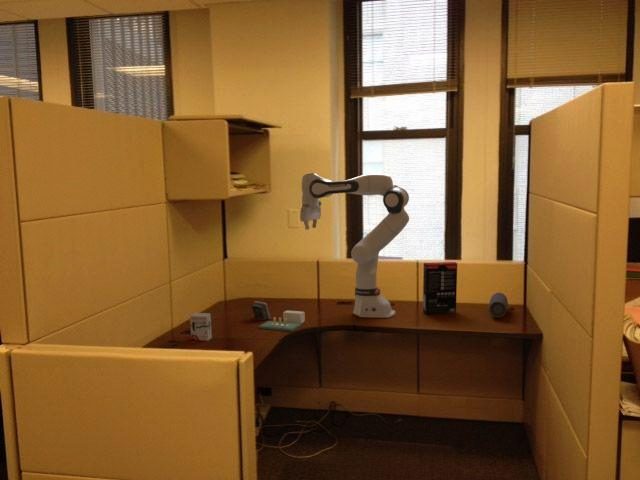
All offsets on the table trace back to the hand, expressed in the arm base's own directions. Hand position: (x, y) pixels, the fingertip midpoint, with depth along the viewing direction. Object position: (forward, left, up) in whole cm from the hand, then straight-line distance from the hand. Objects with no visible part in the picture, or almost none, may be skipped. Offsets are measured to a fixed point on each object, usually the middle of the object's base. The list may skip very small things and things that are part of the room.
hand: (310, 228), depth 314 cm
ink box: (+27, +68, -46) cm, 87 cm away
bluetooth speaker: (-97, -20, -46) cm, 109 cm away
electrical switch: (+18, +26, -46) cm, 56 cm away
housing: (-1, +26, -46) cm, 53 cm away
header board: (+1, +38, -46) cm, 59 cm away
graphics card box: (-68, -15, -46) cm, 83 cm away
